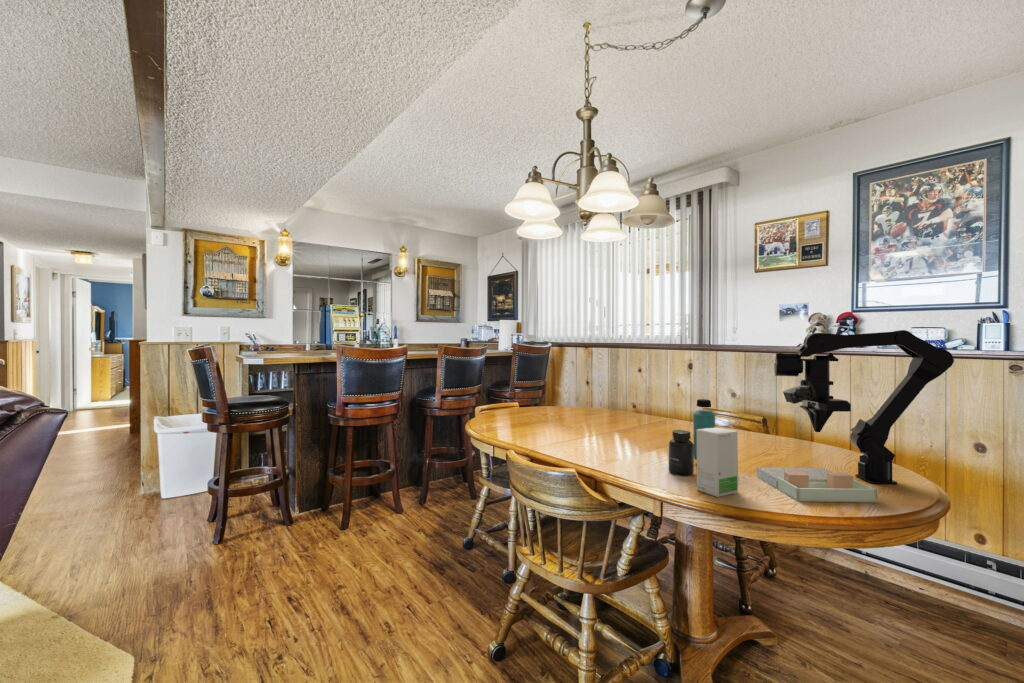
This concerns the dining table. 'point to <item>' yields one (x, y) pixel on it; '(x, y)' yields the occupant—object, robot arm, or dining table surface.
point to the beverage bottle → (702, 420)
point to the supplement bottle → (681, 454)
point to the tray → (828, 492)
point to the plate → (772, 473)
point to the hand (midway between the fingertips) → (817, 431)
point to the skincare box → (717, 461)
